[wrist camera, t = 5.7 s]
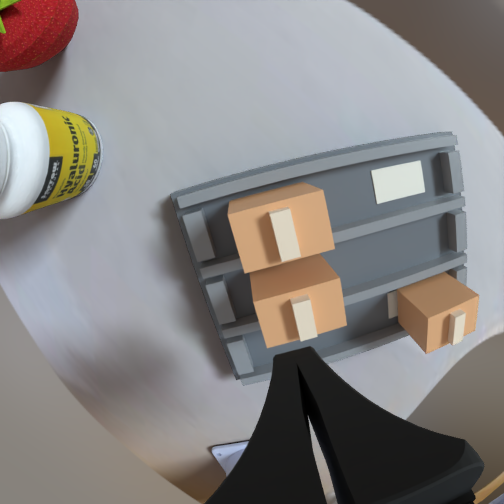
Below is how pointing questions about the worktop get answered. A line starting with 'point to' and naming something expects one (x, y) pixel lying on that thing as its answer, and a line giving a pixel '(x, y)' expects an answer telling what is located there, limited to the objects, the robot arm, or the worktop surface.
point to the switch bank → (337, 241)
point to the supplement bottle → (44, 157)
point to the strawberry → (34, 31)
